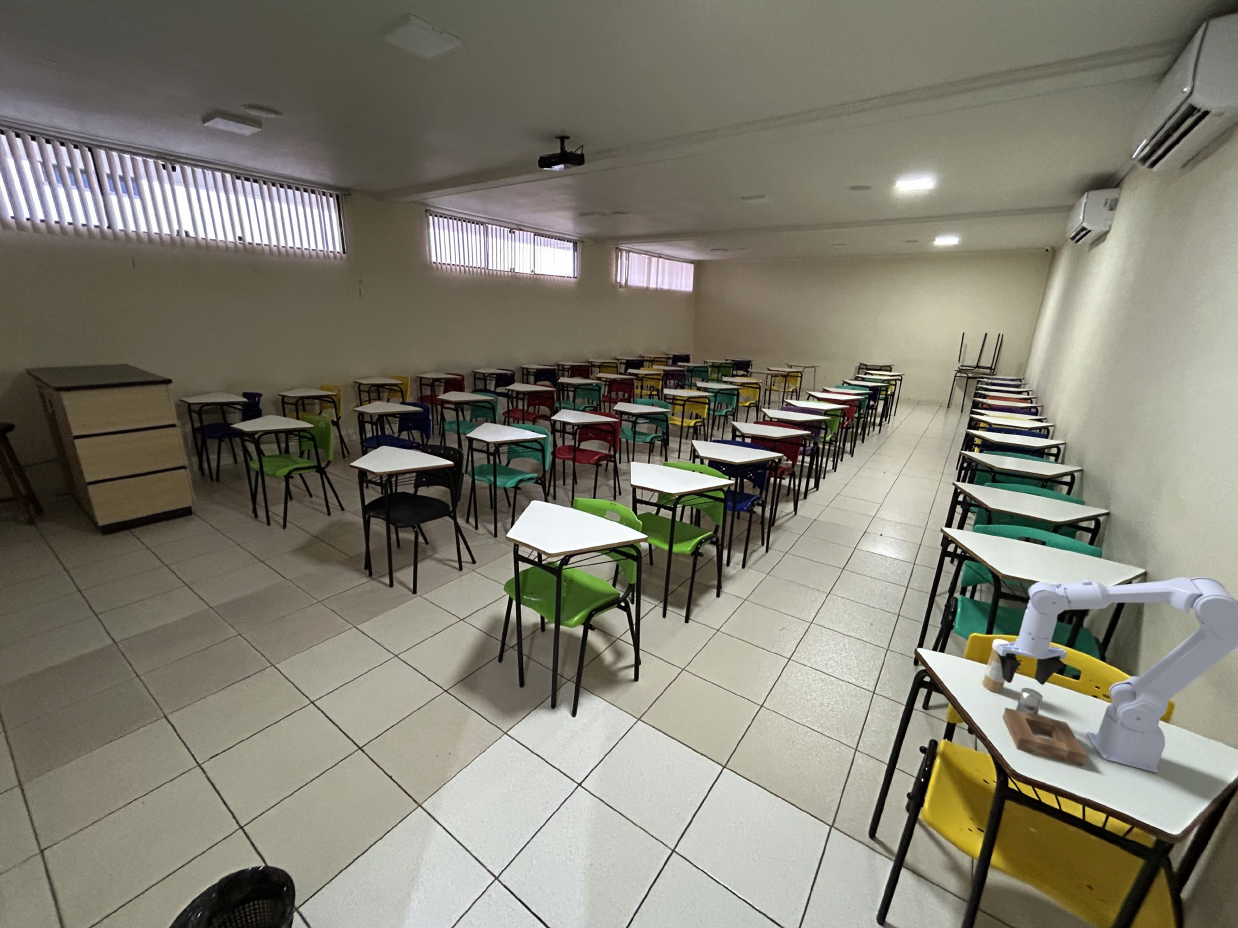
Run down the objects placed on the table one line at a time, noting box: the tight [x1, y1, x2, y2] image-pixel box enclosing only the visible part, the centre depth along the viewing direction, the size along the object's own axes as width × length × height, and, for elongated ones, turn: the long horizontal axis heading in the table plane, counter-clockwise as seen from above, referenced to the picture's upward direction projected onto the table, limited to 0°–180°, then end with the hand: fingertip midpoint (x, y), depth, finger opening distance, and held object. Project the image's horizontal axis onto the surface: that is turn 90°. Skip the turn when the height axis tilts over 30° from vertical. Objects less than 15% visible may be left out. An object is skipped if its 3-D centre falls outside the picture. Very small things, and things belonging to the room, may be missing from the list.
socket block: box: [1002, 707, 1088, 767], centre depth 115 cm, size 12×10×3 cm
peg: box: [1015, 687, 1044, 716], centre depth 123 cm, size 4×4×6 cm
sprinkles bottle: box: [982, 638, 1010, 693], centre depth 131 cm, size 5×5×14 cm
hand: (1022, 680), depth 121 cm, fingers open, 7 cm apart
